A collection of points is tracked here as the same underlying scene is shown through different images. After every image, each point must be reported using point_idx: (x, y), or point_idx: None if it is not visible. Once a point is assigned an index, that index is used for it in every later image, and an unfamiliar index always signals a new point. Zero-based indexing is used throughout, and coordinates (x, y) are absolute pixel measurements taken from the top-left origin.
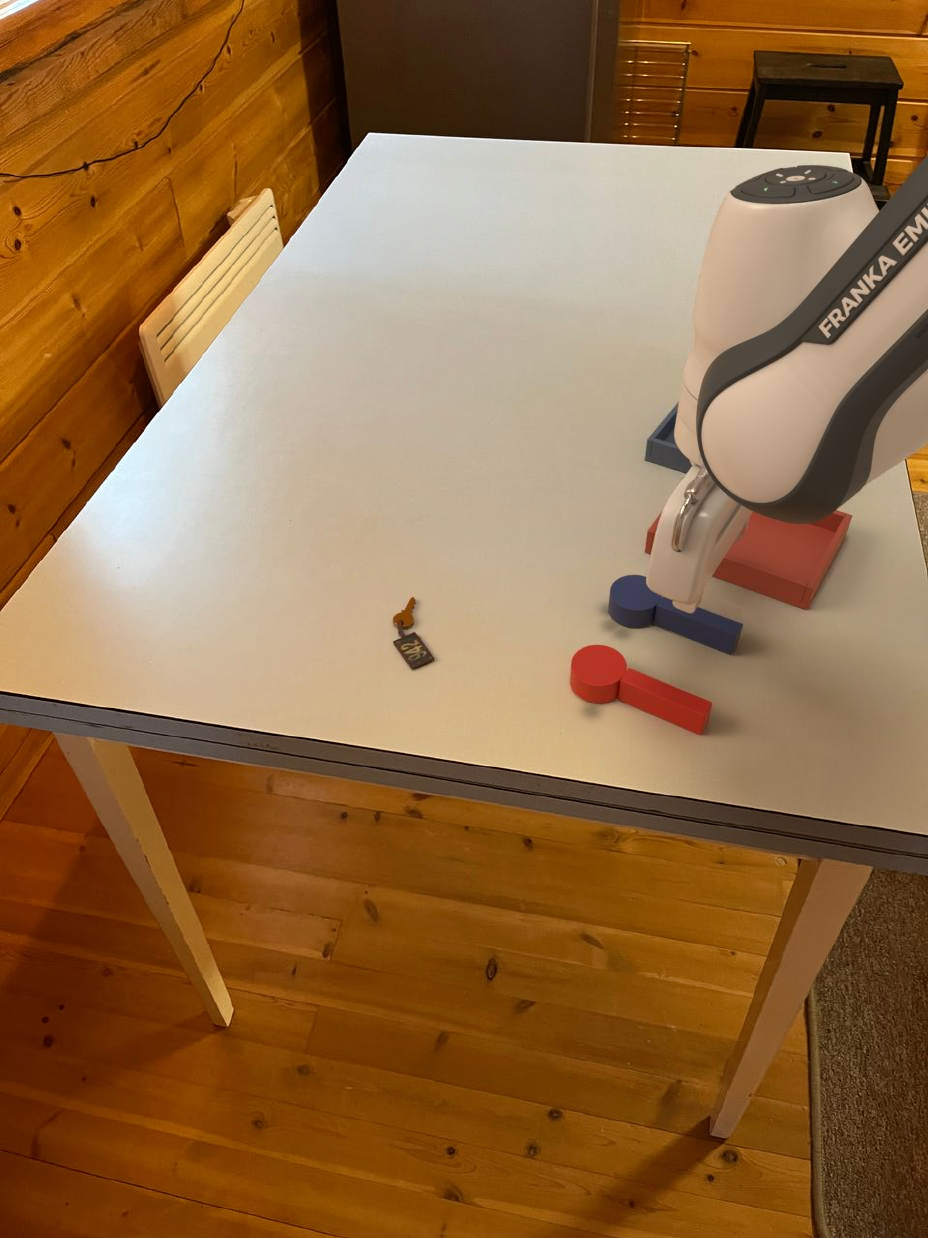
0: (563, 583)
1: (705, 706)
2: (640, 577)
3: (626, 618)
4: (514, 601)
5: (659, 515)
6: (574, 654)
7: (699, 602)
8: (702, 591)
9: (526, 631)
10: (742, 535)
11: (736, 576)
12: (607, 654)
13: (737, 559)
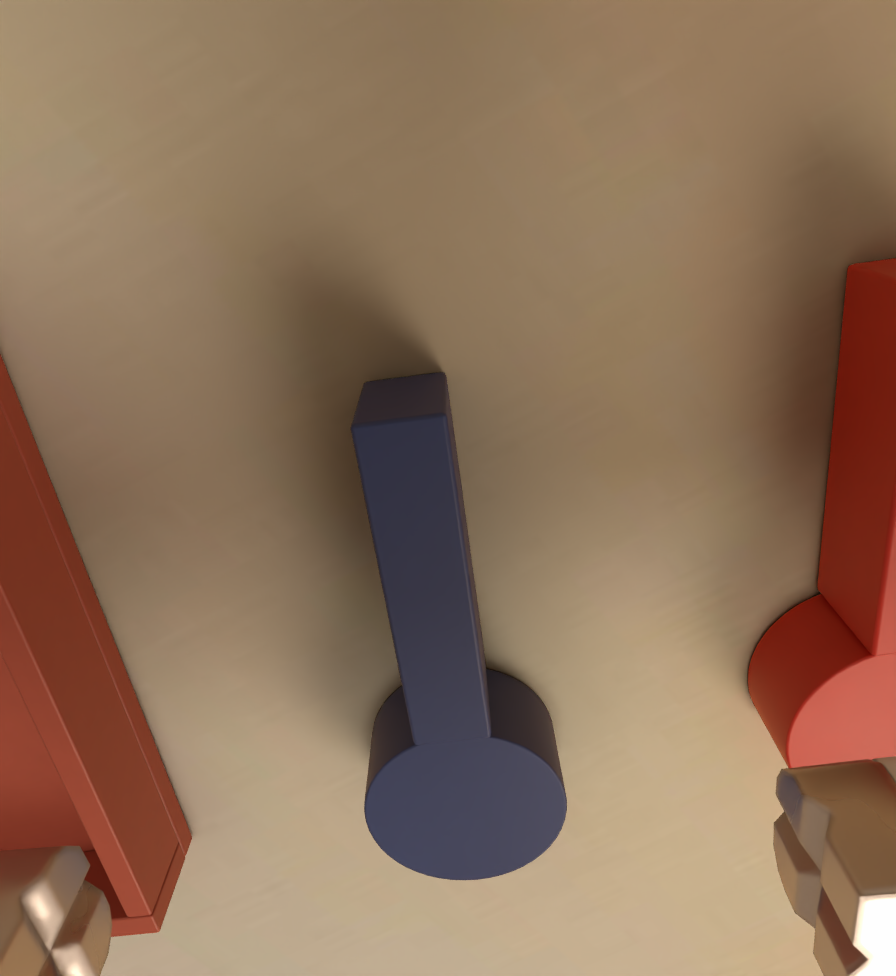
0: (493, 920)
1: None
2: (386, 835)
3: (557, 752)
4: (644, 965)
5: None
6: None
7: (854, 784)
8: (887, 872)
9: (738, 895)
10: (11, 860)
11: (59, 575)
12: (828, 736)
13: (8, 639)
